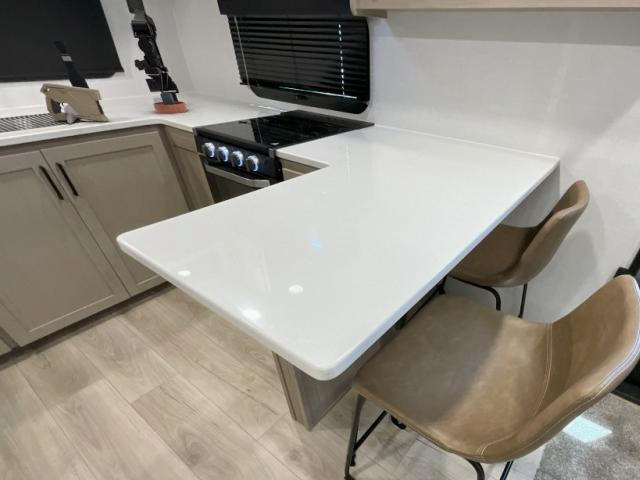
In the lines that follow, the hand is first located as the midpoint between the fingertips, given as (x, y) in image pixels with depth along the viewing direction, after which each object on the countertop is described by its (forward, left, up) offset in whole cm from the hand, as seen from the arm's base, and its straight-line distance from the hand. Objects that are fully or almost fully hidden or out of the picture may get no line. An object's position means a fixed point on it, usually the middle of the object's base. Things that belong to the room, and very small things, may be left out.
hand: (163, 89), depth 174 cm
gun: (+24, -32, -10) cm, 42 cm away
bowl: (0, 0, -10) cm, 10 cm away
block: (0, 0, -10) cm, 10 cm away
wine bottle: (0, -37, -10) cm, 38 cm away
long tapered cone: (+22, -36, -10) cm, 43 cm away
